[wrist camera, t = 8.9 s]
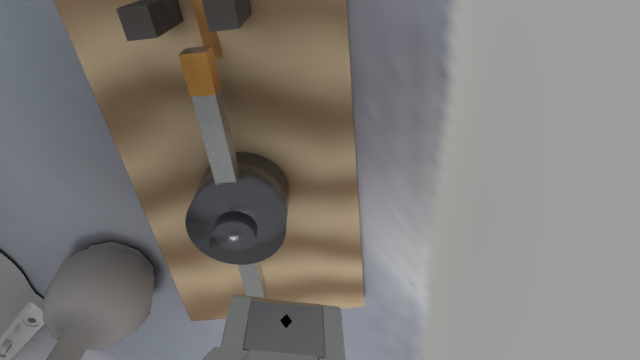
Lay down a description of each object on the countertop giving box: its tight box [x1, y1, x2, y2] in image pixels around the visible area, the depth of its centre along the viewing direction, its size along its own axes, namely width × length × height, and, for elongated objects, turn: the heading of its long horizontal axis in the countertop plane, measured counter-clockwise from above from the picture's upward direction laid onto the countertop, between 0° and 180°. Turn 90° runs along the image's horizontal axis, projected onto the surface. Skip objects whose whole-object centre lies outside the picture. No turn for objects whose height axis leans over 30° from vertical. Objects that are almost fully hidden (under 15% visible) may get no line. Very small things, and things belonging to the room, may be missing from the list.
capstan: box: [179, 46, 290, 303], centre depth 27 cm, size 20×7×6 cm, turn 5°
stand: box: [54, 0, 365, 321], centre depth 30 cm, size 31×18×6 cm, turn 6°
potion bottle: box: [42, 241, 155, 360], centre depth 30 cm, size 9×9×18 cm
